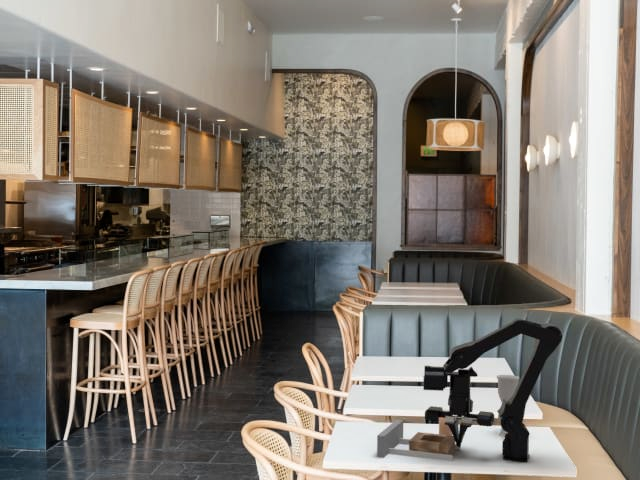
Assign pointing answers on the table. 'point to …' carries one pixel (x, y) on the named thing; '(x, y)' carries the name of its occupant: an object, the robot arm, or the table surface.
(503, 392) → the chalice
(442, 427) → the dowel
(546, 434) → the table surface
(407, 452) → the backstop
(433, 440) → the socket block
